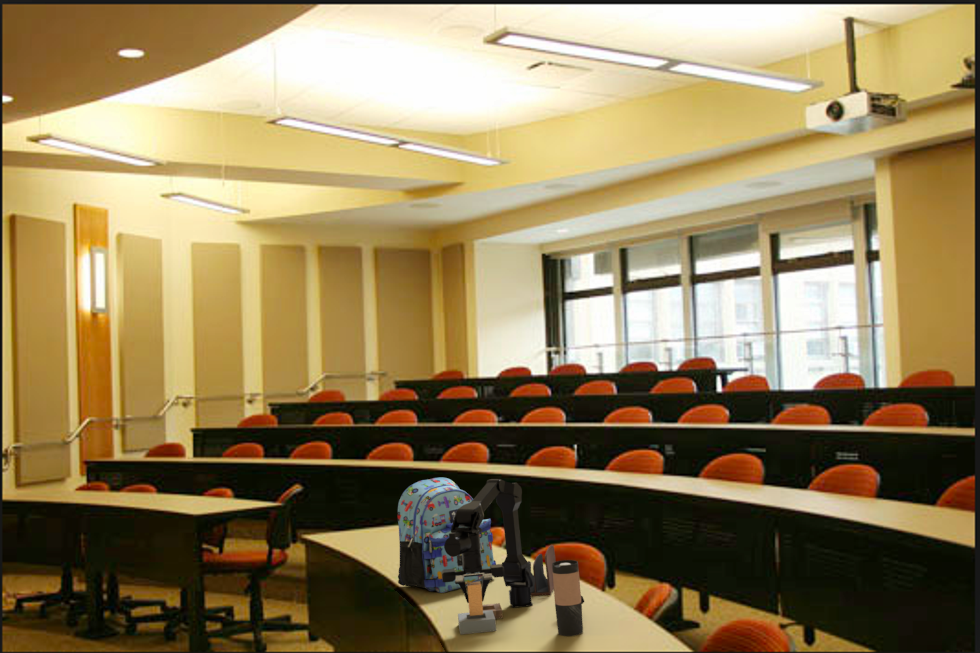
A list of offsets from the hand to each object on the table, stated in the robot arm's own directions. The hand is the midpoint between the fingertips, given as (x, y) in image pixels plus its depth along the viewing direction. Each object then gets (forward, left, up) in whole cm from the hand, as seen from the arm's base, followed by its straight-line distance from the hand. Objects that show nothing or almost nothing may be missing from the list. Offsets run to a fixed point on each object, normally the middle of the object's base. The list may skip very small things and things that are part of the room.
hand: (475, 601), depth 303 cm
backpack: (+6, -66, -8) cm, 67 cm away
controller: (-29, +1, -8) cm, 30 cm away
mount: (-4, -13, -8) cm, 16 cm away
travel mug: (-26, +15, -8) cm, 31 cm away
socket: (0, 0, -8) cm, 8 cm away
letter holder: (-24, -43, -8) cm, 50 cm away
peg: (0, 0, -4) cm, 4 cm away
